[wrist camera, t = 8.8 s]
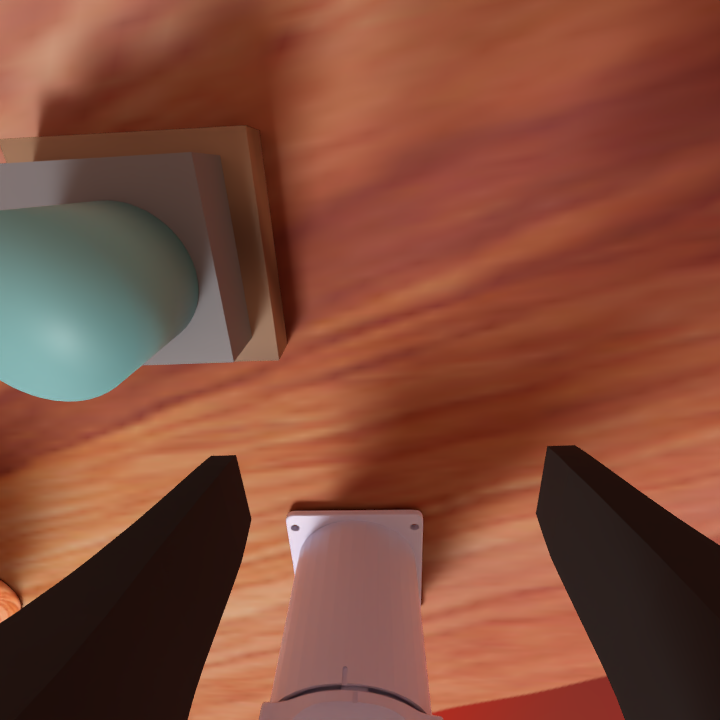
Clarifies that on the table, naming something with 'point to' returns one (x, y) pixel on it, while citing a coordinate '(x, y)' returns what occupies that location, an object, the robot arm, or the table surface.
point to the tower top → (175, 209)
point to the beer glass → (8, 602)
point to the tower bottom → (244, 200)
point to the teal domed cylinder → (88, 296)
